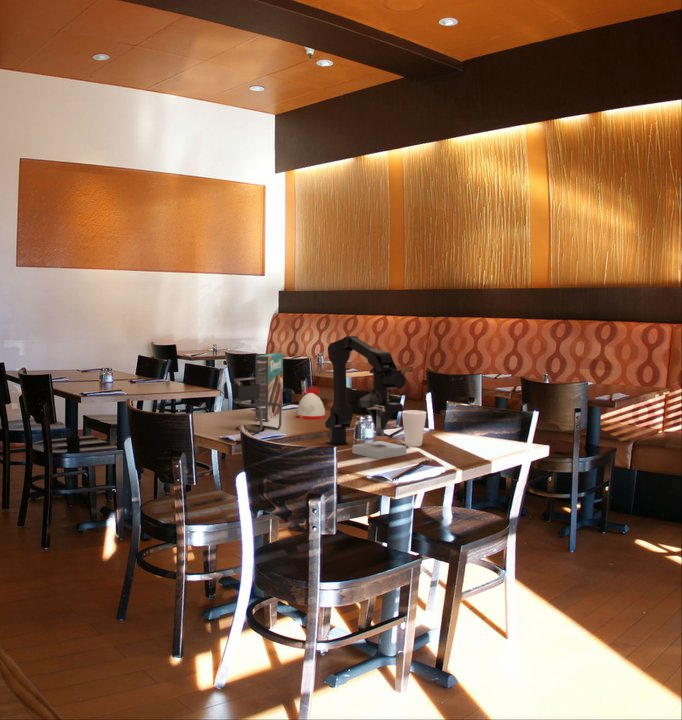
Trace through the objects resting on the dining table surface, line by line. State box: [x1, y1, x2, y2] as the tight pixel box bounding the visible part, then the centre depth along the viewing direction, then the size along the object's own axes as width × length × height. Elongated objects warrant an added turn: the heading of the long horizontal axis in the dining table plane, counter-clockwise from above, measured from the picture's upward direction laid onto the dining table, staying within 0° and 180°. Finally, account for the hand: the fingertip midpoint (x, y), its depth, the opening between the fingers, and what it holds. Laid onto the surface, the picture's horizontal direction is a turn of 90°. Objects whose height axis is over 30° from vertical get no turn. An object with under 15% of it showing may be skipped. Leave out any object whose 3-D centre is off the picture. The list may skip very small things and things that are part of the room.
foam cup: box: [401, 409, 427, 448], centre depth 299 cm, size 10×9×13 cm
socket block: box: [352, 440, 408, 460], centre depth 281 cm, size 14×14×3 cm
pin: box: [375, 408, 385, 437], centre depth 280 cm, size 3×3×10 cm
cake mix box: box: [254, 352, 284, 423], centre depth 360 cm, size 22×6×30 cm, turn 167°
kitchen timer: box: [296, 385, 326, 420], centre depth 366 cm, size 14×14×15 cm
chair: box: [233, 376, 283, 433], centre depth 328 cm, size 13×17×22 cm
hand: (379, 428), depth 280 cm, fingers closed on pin, 3 cm apart
